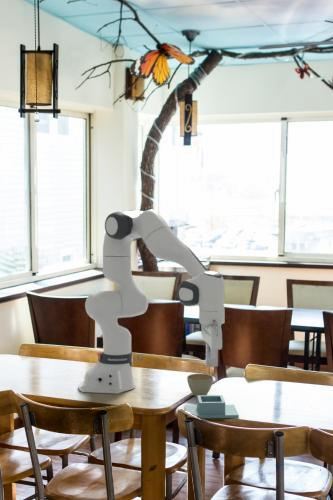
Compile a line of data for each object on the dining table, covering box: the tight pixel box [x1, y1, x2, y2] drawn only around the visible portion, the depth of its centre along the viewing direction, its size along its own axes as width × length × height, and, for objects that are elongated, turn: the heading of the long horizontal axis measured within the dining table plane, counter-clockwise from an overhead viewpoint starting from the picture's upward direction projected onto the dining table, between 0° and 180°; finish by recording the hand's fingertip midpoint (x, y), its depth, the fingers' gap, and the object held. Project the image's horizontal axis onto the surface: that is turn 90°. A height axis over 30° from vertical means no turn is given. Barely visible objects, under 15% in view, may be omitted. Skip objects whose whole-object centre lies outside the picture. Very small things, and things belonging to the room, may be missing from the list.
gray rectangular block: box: [204, 342, 219, 368], centre depth 249 cm, size 4×4×8 cm
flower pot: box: [186, 373, 214, 397], centre depth 273 cm, size 10×10×7 cm
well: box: [184, 394, 239, 419], centre depth 251 cm, size 18×12×5 cm, turn 92°
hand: (211, 357), depth 248 cm, fingers closed on gray rectangular block
